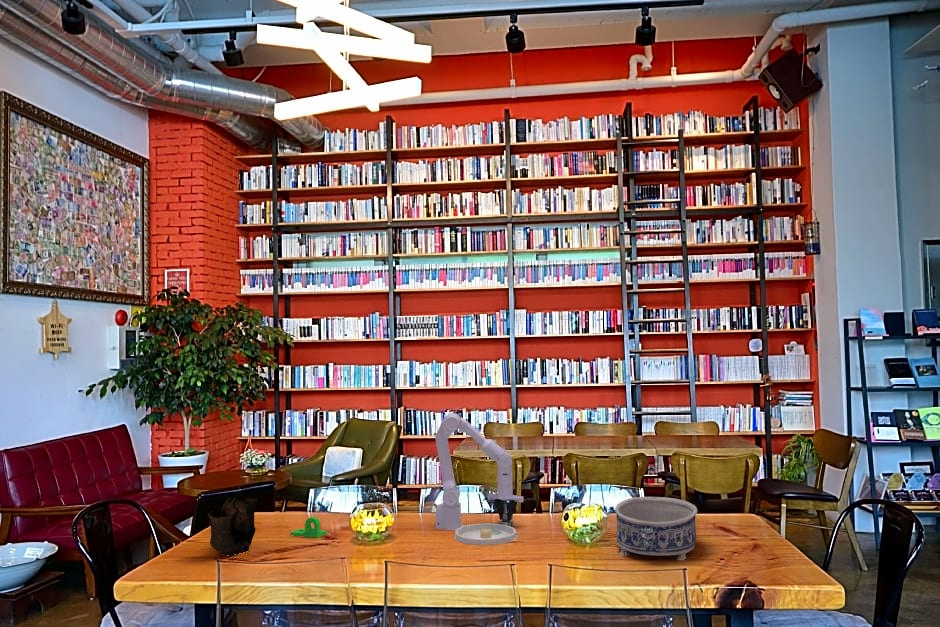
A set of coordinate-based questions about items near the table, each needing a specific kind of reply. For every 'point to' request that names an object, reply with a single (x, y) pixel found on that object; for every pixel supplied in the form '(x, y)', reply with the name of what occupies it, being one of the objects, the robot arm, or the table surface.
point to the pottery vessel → (233, 525)
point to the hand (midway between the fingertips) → (505, 519)
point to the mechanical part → (310, 529)
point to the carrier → (485, 534)
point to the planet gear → (506, 520)
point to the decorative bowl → (656, 526)
